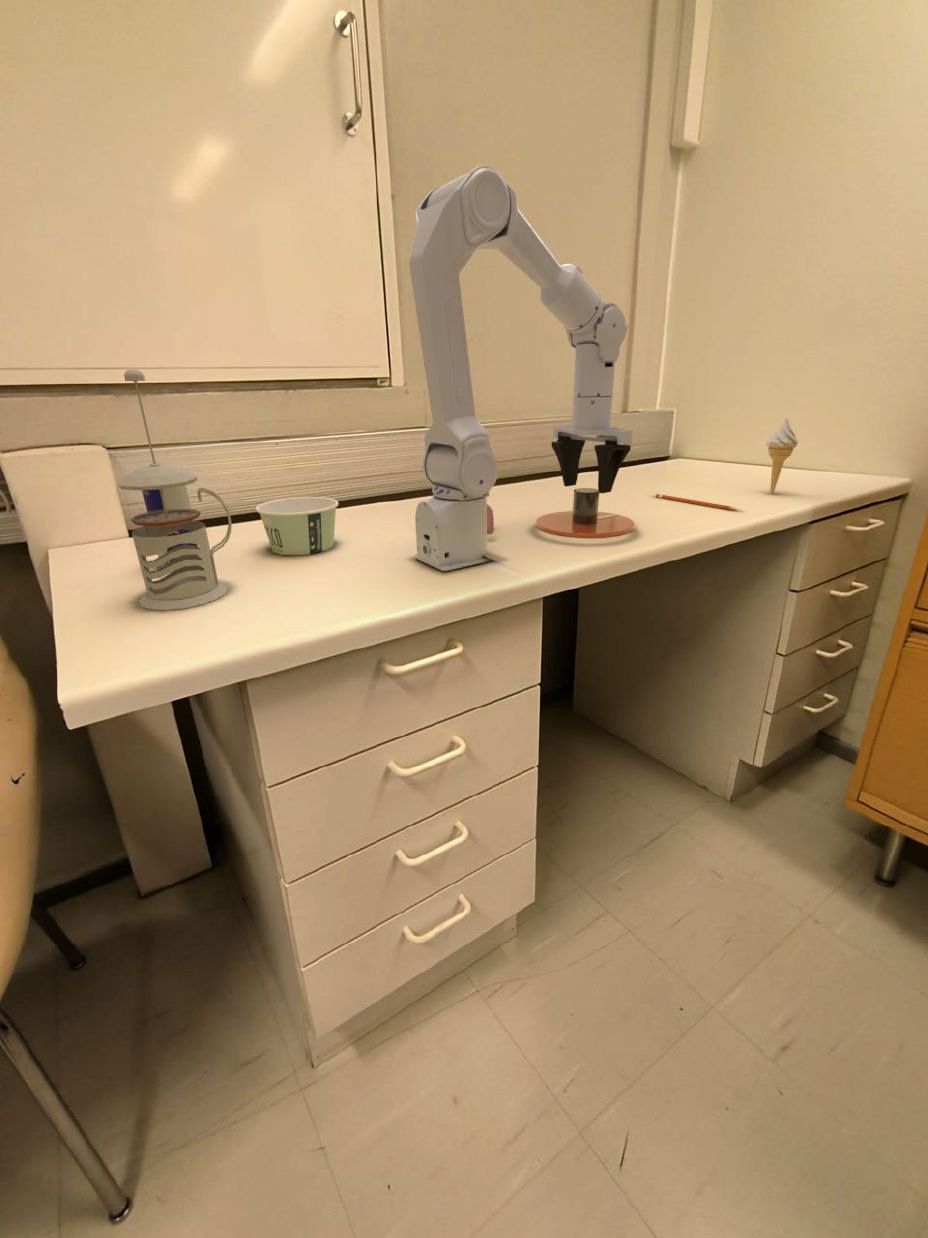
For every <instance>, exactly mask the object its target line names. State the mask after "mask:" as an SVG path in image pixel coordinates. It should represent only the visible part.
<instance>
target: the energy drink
mask: <svg viewBox="0 0 928 1238" xmlns="http://www.w3.org/2000/svg"><path fill="white" fill-rule="evenodd" d="M141 493H142V497H143V500H144V504H145V509H146V512H147V513H148V512H151V511H152V512H153V511H155V512H156V510H158V511H159V510H161V511H162V510H163V511H164V507H163V503H162V499H161V494H160V490H159V489H157V490H141ZM162 494H163V498H164V502H165V507H166V509H167V510H169V509H170V510H172V509H173V510H175V509H176V510H178V508H179V509H180V508H181V509H183V508H184V510H185V508H186V509H187V508H189V509H192V508H191V503H190V497H189V494H188V488H187V485H185V486H180V487H174V488H166V489H162ZM158 511H157V512H158ZM152 512H151V513H152ZM147 513H146V514H147ZM191 521H194V520H191ZM189 532H193V531H190V530H185V529H180V530H177V531H174V532H170V533H169V534H168V535H166V536H173V535H180V534H185V533H189ZM166 536H165V537H166ZM185 544H186V545H192V546H196V547H198V548H199V544H194V543H183V544H178V545H175V546H172V547H169V548H168V549H166V550H164V551H162V552H161V553H159V554H157V558H159V557H161V556H163V555H164V554H166V553H167V552H169V551H170V550H172V549H173V548H175V547H177V546H181V545H185ZM182 556H183V555H182ZM195 556H199V557H201V556H200V555H195ZM201 558H202V557H201ZM174 559H175V558H174ZM174 559H171V560H170V561H168V562H166V563H164V564H162V565H160V566H159V567H163V566H165V565H167V564H168V563H169V562H171V561H172V560H174Z"/></svg>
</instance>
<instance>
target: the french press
mask: <svg viewBox="0 0 928 1238" xmlns="http://www.w3.org/2000/svg"><path fill="white" fill-rule="evenodd" d="M123 375H124V381H125V382H133V383H134V385H135V389H136V394H137V398H138V403H139V408H140V412H141V416H142V421H143V424H144V428H145V429H144V430H145V434H146V437H147V443H148V446H149V450H150V455H151V459H152V463H150V464H149V465H147V466H142V467H138V468H137V469H134V470H133V471H131V472H129V473H128V474H125V475H124V476H123V477H121V478H120V479H119V480H118V481H116V484H117V486H118V487H119V488H120V489H121V490H125V491H142V490H157V489H159V490H160V494H161V499H162V503H163V507H164V511H163V510H162V511H161V510H159V511H158V510H156V512H155V511H153V512H152V511H151V512H152V513H151V512H148V513H147V511H145V512H144V513H142V512H141V513H139V514H137V515H134V516H133V517H132V518H131V519H130V521H131V522H132V523H133V524H134V525H136V526H141V527H139V528H136V529H134V530H132V532H131V537H132V539H133V543H134V548H135V552H136V555H137V559H138V563H139V567H140V570H141V574H142V579H143V582H144V586H145V589H146V592H145V593H143V595H142V596H141V598H140V599H139V601H138V603H139V604H140V607H142V608H145V609H148V610H156V611H171V610H172V611H173V610H183V609H188V608H192V607H197V606H202V605H205V604H207V603H211V602H213V601H216V600H219V598H222V596H225V595H226V593H227V591H228V590H229V588H228V587H227V586H226V585H225V584H224V583H223V582H222V581H220V580H219V578H218V573H217V568H216V563H215V559H214V554H215V553H216V552H217V551H219V550H221V549H222V548H224V546H225V545H226V544H227V543H228V541H229V540H230V536H231V534H232V527H233V522H232V518H231V513H230V510H229V508H228V506H227V504H226V503H225V501H224V500H223V498H222V497H221V496H220V495H219V494H217V493H216V492H214V491H213V490H210V489H208V488H205V487H199V488H198V489H197V493H196V494H197V498H198V501H199V502H200V503H202V502H203V501H202V493H204V494H207V495H210V496H212V497H213V498H215V499H216V500H218V502H219V504H221V506H222V507H223V508H224V510H225V512H226V515H227V519H228V520H227V521H228V525H227V531H226V534H225V536H224V537H223V538H222V539H221V541H219V542H218V543H217V544H215V545H213V546H212V547H211V546H210V543H209V542H210V541H209V537H208V533H207V527H206V524H205V523H204V522H203V521H198V520H196V519H198V518H199V517H200V516H201V511H199V510H198V509H195V508H191V509H189V508H187V509H186V508H185V510H184V508H183V509H181V508H180V509H179V508H178V510H176V509H175V510H173V509H172V510H170V509H169V510H167V509H166V507H165V502H164V498H163V494H162V489H166V488H174V487H180V486H185V485H186V486H189V485H192V484H195V483H196V482H197V481H198V478H199V477H198V475H196V474H195V473H193V472H191V471H190V470H188V469H185V468H182V467H177V466H173V465H168V464H160V463H158V462H156V459H155V454H154V450H153V447H152V442H151V438H150V437H151V436H150V433H149V428H148V425H147V421H146V416H145V412H144V408H143V407H144V406H143V403H142V399H141V398H142V397H141V394H140V389H139V385H138V382H145V381H146V377H145V374H144V373H143V372H142V371H141V370H139V369H137V368H136V369H135V368H131V369H127V370H126V371H125V372H124V374H123ZM157 511H158V512H157ZM191 520H193V521H191ZM180 529H185V530H190V531H193V532H189V533H185V534H180V535H173V536H166V535H168V534H169V533H170V532H174V531H177V530H180ZM165 536H166V537H165ZM183 543H194V544H199V548H198V547H196V546H192V545H186V544H185V545H181V546H177V547H175V548H173V549H172V550H170V551H169V552H167V553H166V554H164V555H163V556H161V557H159V558H158V557H156V558H155V559H153V560H148V559H147V558H148V557H152V556H158V554H159V553H161V552H162V551H164V550H166V549H168V548H169V547H172V546H175V545H178V544H183ZM182 555H183V556H182ZM195 555H200V556H201V557H199V556H195ZM174 558H175V559H174ZM171 559H174V560H172V561H171V562H169V563H168V564H167V565H165V566H163V567H162V566H160V565H162V564H164V563H166V562H168V561H170V560H171ZM158 567H160V568H158ZM153 568H157V569H156V570H150V569H153ZM154 579H157V580H154Z"/></svg>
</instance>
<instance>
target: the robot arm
mask: <svg viewBox="0 0 928 1238" xmlns="http://www.w3.org/2000/svg"><path fill="white" fill-rule="evenodd" d="M518 206H519V205H518V198H517V193H516V191H515V190H514V188H512V187H511V186H510V185H509V184H508V183H506V180H505V178H504V177H503V175H501V173H500V172H499V170H497V169H496V168H494V167H493V166H491V165H487V164H481V165H477V166H475V167H473V168H472V169H471V170H470V171H469V172H466V173H465V174H463V175H461V176H459V177H457V178H455V179H454V180H451V181H450V182H447V183H446V184H444V185H441V186H437V187H435V188H432V190H431V191H429V192H428V194H426V196H425V197H424V199H423V200H422V201H421V202H420V204H419V205H418V206H417V207H416V208H415V217H416V228H415V233H414V237H413V241H412V244H411V245H412V246H411V248H410V249H411V250H410V253H409V259H408V262H409V263H408V265H409V272H410V279H411V286H412V292H413V299H414V304H415V313H416V319H417V325H418V333H419V339H420V346H421V351H422V358H423V366H424V372H425V377H426V385H427V390H428V398H429V405H430V412H431V419H432V422H431V425H430V427H429V429H428V430H427V431H426V433H425V434H424V437H423V438H424V446H425V447H424V448H425V449H424V454H423V459H422V471H423V475H424V477H425V479H426V481H428V483H429V484H430V485H431V491H432V492H431V493H432V494H433V496H432V497H431V498H429V499H426V500H422V501H420V502H419V503H418V504H417V506H416V509H415V514H414V515H415V516H414V520H415V540H416V554H414V558H415V559H416V560H418V561H420V562H423V563H425V564H427V565H429V566H431V567H433V568H435V569H438V570H439V571H442V572H448V571H452V570H457V569H461V568H466V567H470V566H473V565H478V564H479V565H480V564H483V563H488V562H491V561H494V559H493V558H490V557H488V556H485V554H487V552H488V534H487V504H488V497H490V491H491V490H492V489H493V487H494V486H495V484H496V481H497V479H498V475H499V464H498V463H499V462H498V459H497V457H496V455H495V453H494V452H493V450H492V447H491V444H490V436H489V433H488V432H487V430H486V429H485V428H484V426H483V424H482V423H480V421H479V420H478V418H477V416H476V410H475V401H474V392H473V384H472V376H471V367H470V358H469V350H468V341H467V333H466V324H465V317H464V316H465V315H464V308H463V298H462V290H461V281H460V274H461V272H462V271H463V269H464V267H465V266H466V265H467V263H468V262H469V261H470V260H471V258H472V256H473V255H474V253H475V252H476V251H477V250H498V251H499V252H500V253H501V254H502V255H504V257H506V258H507V259H508V260H509V262H511V263H513V264H514V265H515V266H516V267H517V268H518V269H519V270H520V271H521V272H522V273H524V274H525V275H526V277H528V278H529V279H530V280H531V281H533V283H535V285H537V286H538V287H539V288H540V289H539V293H540V294H539V298H540V303H541V304H542V305H543V306H544V307H545V308H546V309H547V311H549V313H551V314H552V315H553V316H554V317H555V318H556V319H557V321H559V322H560V324H562V325H563V329H564V330H565V331H566V336H567V341H568V342H569V345H570V347H571V348H574V349H575V353H574V354H575V355H574V356H575V357H574V374H573V376H574V377H573V392H572V393H573V394H572V395H573V396H572V415H571V424H556V425H553V431H552V432H553V433H552V435H553V436H552V438H553V439H557V440H556V441H552V442H551V445H550V447H551V448H552V450H553V452H554V454H555V456H556V458H557V461H558V464H559V467H560V472H561V477H562V483H563V486H564V487H572V486H576V485H577V482H578V476H579V467H580V466H579V465H580V461H581V455H582V453H583V449H584V446H585V444H586V441H587V442H595V443H596V442H597V443H604V444H595V445H594V451H595V455H596V460H597V461H596V462H597V468H598V474H597V475H598V476H597V477H598V478H597V489H598V490H599V494H606V493H611V492H612V490H613V487H614V484H615V481H616V478H617V476H618V473H619V470H620V468H621V466H622V464H623V462H624V460H625V459H626V457H627V455H628V454H629V453H630V452H631V448H632V445H631V444H632V442H633V429H625V428H618V427H614V426H613V425H611V422H612V409H613V394H614V381H615V370H616V362H617V361H618V358H620V351H621V350H620V349H621V346H622V344H623V343H624V341H625V338H626V336H627V334H628V333H627V332H628V325H626V317H625V314H624V311H623V310H622V309H621V308H620V307H619V306H618V305H616V303H613V302H608V303H606V301H605V300H604V299H603V297H602V294H600V292H599V291H596V289H595V288H594V287H593V286H592V285H591V284H590V282H589V281H588V280H587V279H586V278H585V276H584V275H583V270H582V268H581V267H579V265H574V264H572V263H564V264H563V263H562V264H560V263H559V261H558V260H557V259H556V258H555V256H554V254H553V253H552V252H551V251H550V249H549V248H548V247H547V245H546V244H545V243H544V241H543V240H542V238H541V237H540V236H539V235H538V234H537V232H536V230H534V229H533V227H532V225H531V224H530V223H529V222H528V220H527V219H526V217H525V216H524V215H523V213H522V212H521V210H520V209H519V207H518Z"/></svg>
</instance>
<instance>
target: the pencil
mask: <svg viewBox="0 0 928 1238" xmlns="http://www.w3.org/2000/svg"><path fill="white" fill-rule="evenodd" d="M655 498H657V499H663V500H669V501H674V502H679V503H680V502H681V503H686V504H692V505H695V506H696V505H697V506H703V507H708V508H713V509H719V510H725V511H739V509H738V508H735V507H734V506H731V505H725V504H719V503H713V502H707V501H701V500H695V499H690V498H684V497H679V496H671V495H665V494H659V493H657V494H655Z"/></svg>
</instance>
